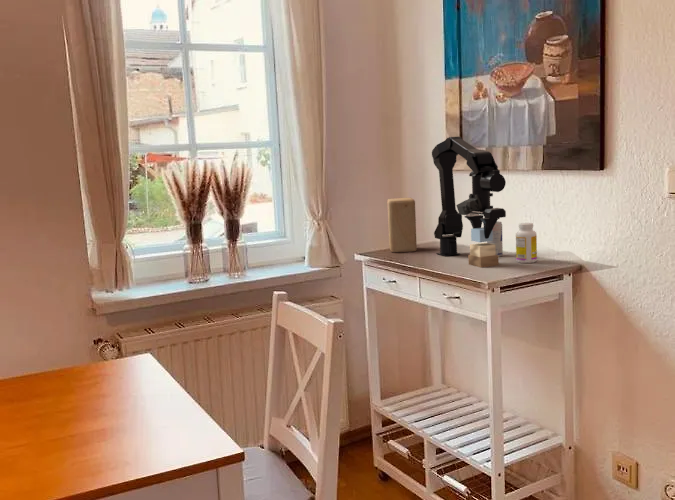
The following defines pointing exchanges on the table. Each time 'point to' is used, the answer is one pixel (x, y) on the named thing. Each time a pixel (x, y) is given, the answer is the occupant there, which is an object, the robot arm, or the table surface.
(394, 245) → the wooden block
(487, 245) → the mid block
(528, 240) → the supplement bottle
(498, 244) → the energy drink
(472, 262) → the base block
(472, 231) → the top block
